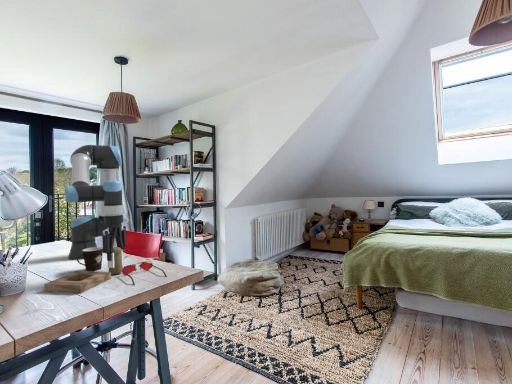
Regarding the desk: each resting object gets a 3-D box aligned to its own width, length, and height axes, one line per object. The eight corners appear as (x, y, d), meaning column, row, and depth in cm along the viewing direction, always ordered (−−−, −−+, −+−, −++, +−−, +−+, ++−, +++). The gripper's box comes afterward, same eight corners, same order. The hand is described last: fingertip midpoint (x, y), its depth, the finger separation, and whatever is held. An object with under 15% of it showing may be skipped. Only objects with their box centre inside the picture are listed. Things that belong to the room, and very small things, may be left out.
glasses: (152, 269, 129) (151, 259, 129) (167, 277, 117) (166, 266, 117) (121, 277, 120) (120, 265, 120) (133, 286, 108) (133, 274, 108)
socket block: (78, 277, 120) (78, 270, 120) (110, 278, 117) (110, 271, 117) (44, 291, 104) (44, 283, 104) (80, 293, 101) (80, 285, 101)
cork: (126, 270, 125) (125, 246, 125) (114, 274, 119) (113, 249, 119) (117, 268, 127) (116, 245, 127) (105, 272, 122) (104, 248, 122)
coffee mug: (101, 265, 137) (100, 246, 137) (106, 269, 131) (105, 248, 131) (73, 271, 129) (72, 250, 129) (78, 275, 123) (77, 253, 123)
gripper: (119, 212, 132) (121, 259, 133) (90, 217, 114) (93, 271, 115) (133, 212, 131) (135, 259, 132) (106, 217, 113) (108, 272, 114)
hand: (115, 265), depth 123 cm, fingers closed on cork, 5 cm apart
